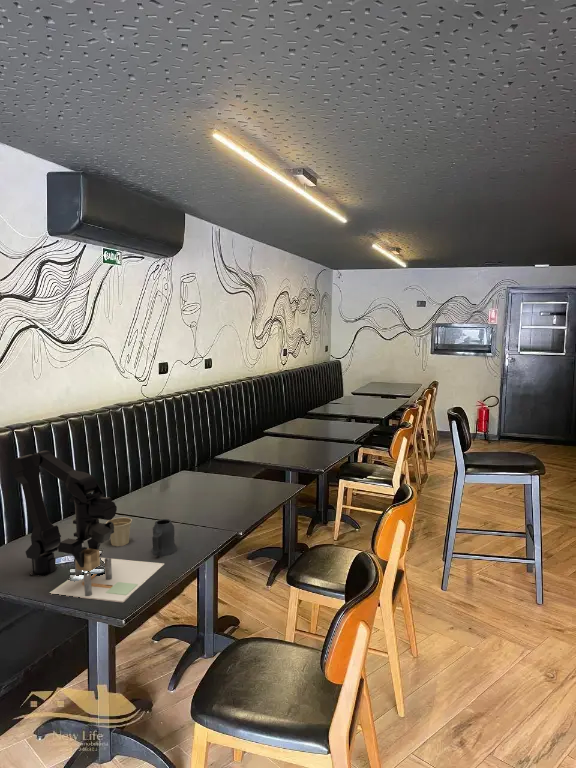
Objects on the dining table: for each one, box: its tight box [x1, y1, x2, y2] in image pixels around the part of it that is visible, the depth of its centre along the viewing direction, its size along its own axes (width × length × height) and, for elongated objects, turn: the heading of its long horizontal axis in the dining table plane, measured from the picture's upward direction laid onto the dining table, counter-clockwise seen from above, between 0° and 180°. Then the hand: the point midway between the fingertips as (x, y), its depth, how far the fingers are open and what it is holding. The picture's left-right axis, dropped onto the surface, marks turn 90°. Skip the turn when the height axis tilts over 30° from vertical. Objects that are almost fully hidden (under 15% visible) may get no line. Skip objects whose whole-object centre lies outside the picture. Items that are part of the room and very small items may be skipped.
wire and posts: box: [73, 557, 113, 596], centre depth 174 cm, size 10×18×6 cm, turn 31°
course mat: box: [49, 557, 165, 604], centre depth 177 cm, size 25×26×1 cm
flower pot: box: [105, 516, 133, 547], centre depth 205 cm, size 9×9×9 cm
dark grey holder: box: [151, 518, 178, 557], centre depth 195 cm, size 12×9×11 cm
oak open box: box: [76, 547, 101, 572], centre depth 174 cm, size 5×5×5 cm
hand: (88, 563), depth 174 cm, fingers closed on oak open box, 5 cm apart
